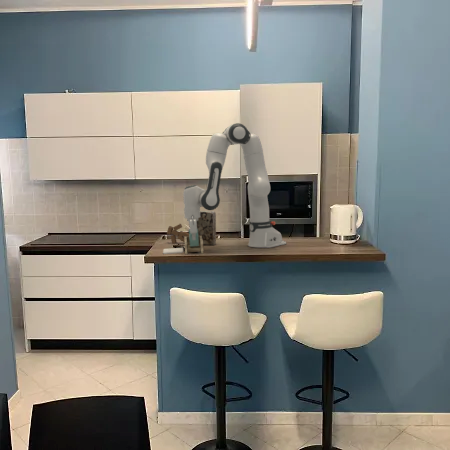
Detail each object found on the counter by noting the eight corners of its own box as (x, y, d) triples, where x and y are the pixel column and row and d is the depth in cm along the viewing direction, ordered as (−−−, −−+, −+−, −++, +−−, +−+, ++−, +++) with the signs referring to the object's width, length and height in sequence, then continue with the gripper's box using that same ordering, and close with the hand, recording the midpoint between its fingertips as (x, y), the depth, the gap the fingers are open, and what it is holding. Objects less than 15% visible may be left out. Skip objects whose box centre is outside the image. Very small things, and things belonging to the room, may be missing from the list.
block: (189, 244, 271) (188, 229, 270) (198, 244, 272) (197, 228, 270) (189, 246, 266) (188, 230, 265) (198, 245, 267) (197, 229, 265)
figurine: (185, 249, 293) (164, 239, 296) (186, 248, 296) (165, 239, 299) (192, 230, 290) (170, 220, 293) (193, 229, 292) (172, 219, 295)
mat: (163, 250, 274) (163, 248, 274) (183, 249, 275) (183, 247, 275) (163, 254, 263) (162, 252, 263) (183, 252, 264) (183, 251, 264)
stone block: (217, 243, 289) (215, 210, 286) (214, 245, 282) (213, 212, 279) (196, 243, 292) (194, 210, 289) (193, 245, 285) (191, 212, 282)
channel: (185, 248, 277) (184, 236, 276) (202, 247, 278) (201, 235, 277) (185, 254, 260) (184, 241, 259) (203, 253, 261) (202, 240, 260)
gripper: (198, 216, 257) (200, 241, 259) (197, 212, 277) (198, 235, 279) (186, 217, 256) (188, 242, 258) (186, 212, 276) (188, 236, 278)
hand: (193, 239), depth 269 cm, fingers closed on block, 5 cm apart
